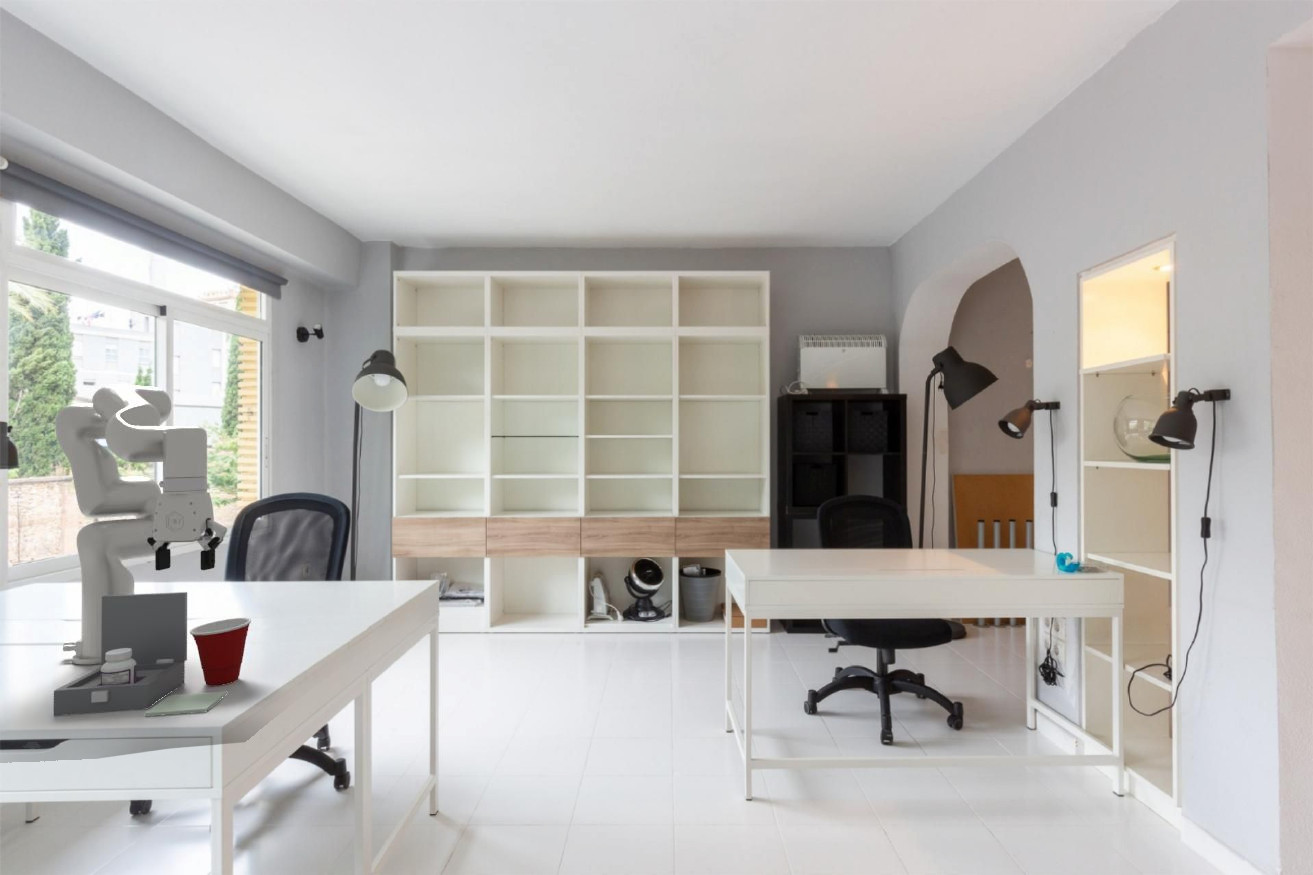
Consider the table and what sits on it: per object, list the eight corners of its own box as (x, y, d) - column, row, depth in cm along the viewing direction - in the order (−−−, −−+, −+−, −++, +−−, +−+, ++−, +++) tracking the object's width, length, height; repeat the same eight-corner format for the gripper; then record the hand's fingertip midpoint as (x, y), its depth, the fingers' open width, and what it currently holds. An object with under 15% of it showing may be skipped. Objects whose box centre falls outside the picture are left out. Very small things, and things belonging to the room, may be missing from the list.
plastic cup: (197, 676, 142) (197, 619, 143) (256, 670, 146) (256, 614, 147) (182, 694, 132) (182, 632, 132) (245, 686, 136) (245, 627, 136)
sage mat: (144, 716, 121) (144, 713, 121) (170, 698, 130) (170, 695, 130) (206, 712, 123) (206, 708, 123) (227, 694, 132) (227, 691, 132)
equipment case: (51, 717, 121) (52, 613, 121) (104, 687, 136) (104, 595, 137) (145, 710, 124) (145, 609, 124) (186, 681, 139) (187, 591, 140)
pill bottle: (113, 696, 131) (114, 647, 131) (142, 695, 131) (143, 646, 132) (93, 707, 126) (93, 655, 126) (123, 706, 126) (123, 654, 126)
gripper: (130, 487, 136) (130, 572, 136) (212, 486, 135) (212, 572, 135) (160, 485, 144) (160, 566, 143) (237, 484, 143) (237, 566, 142)
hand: (185, 569), depth 139 cm, fingers open, 9 cm apart
